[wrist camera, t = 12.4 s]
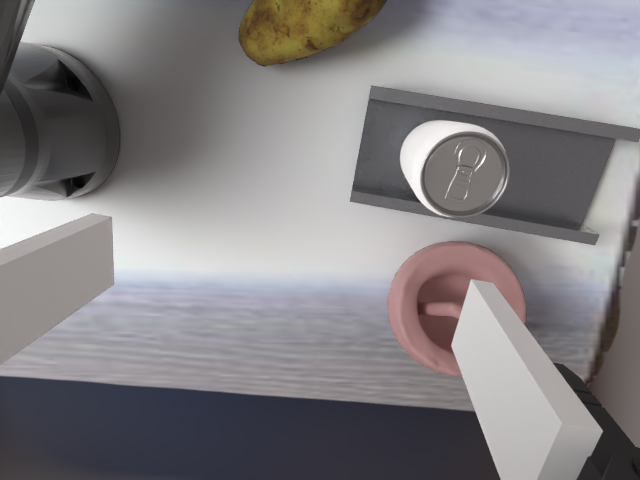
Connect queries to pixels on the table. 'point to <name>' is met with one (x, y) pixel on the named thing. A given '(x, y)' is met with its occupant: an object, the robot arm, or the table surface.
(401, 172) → the track
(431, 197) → the can
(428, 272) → the mortar and pestle
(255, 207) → the table surface
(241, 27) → the potato
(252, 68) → the table surface
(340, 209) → the table surface
